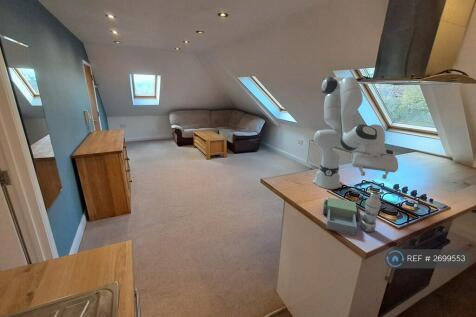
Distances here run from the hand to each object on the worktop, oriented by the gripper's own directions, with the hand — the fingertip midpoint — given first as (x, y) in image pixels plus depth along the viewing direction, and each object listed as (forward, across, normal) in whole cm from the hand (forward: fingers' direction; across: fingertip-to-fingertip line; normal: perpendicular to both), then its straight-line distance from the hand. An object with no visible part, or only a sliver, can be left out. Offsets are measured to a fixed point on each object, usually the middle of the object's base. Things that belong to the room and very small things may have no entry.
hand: (373, 176), depth 111 cm
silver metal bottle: (+25, 0, +8) cm, 26 cm away
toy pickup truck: (+22, -12, +11) cm, 27 cm away
